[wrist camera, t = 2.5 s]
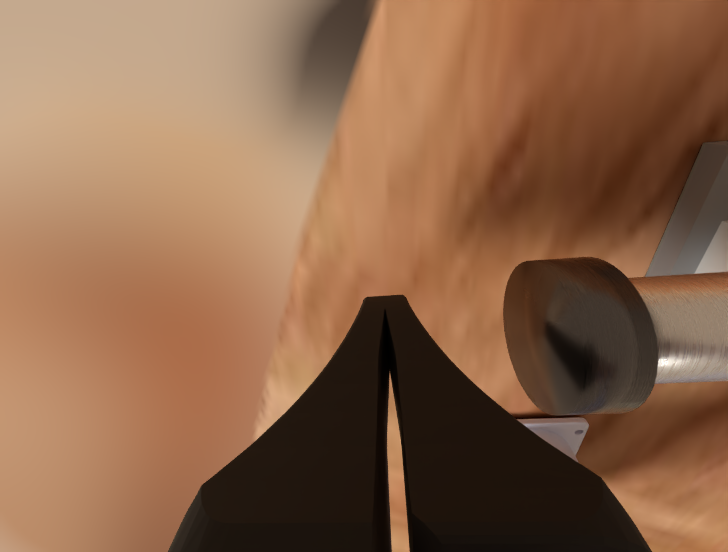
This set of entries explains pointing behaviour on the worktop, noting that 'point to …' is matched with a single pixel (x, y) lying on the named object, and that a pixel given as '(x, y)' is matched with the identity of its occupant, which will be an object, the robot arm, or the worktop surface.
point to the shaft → (611, 333)
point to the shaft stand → (698, 219)
